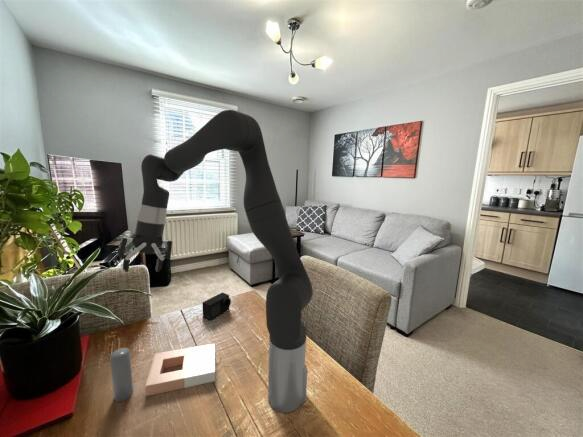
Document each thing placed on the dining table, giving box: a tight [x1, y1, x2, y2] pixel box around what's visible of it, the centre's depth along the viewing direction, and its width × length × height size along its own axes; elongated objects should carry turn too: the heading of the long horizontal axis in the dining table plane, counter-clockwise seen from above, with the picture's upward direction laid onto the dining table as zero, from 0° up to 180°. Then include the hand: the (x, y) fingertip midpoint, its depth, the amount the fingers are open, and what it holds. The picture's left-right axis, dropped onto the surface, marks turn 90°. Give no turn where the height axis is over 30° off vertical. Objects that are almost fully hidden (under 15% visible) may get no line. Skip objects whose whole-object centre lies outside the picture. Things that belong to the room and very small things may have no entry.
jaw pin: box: [109, 347, 134, 403], centre depth 62 cm, size 4×4×12 cm
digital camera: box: [202, 291, 232, 322], centre depth 99 cm, size 10×5×7 cm, turn 149°
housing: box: [145, 343, 216, 397], centre depth 70 cm, size 17×12×3 cm
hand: (142, 271), depth 76 cm, fingers open, 8 cm apart
